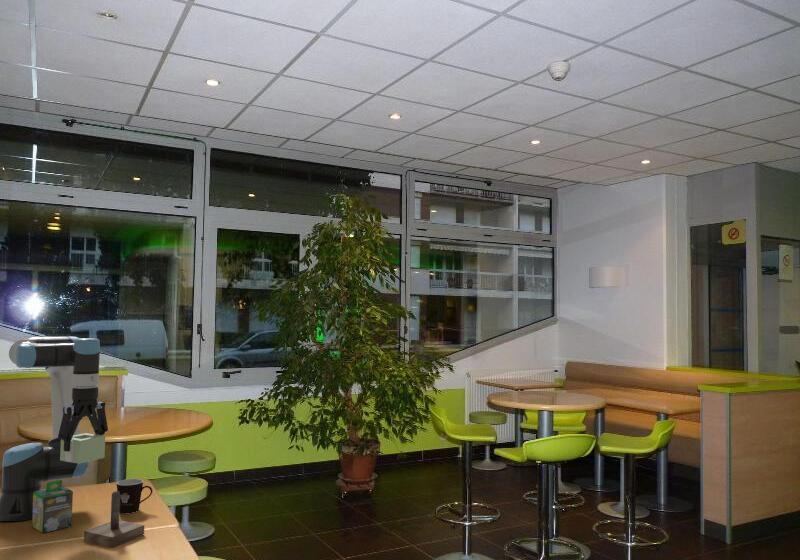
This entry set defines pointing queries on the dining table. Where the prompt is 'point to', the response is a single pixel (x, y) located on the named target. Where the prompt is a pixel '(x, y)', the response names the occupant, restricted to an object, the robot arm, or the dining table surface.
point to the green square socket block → (86, 448)
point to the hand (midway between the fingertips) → (82, 458)
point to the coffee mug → (131, 494)
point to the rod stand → (114, 528)
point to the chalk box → (52, 508)
